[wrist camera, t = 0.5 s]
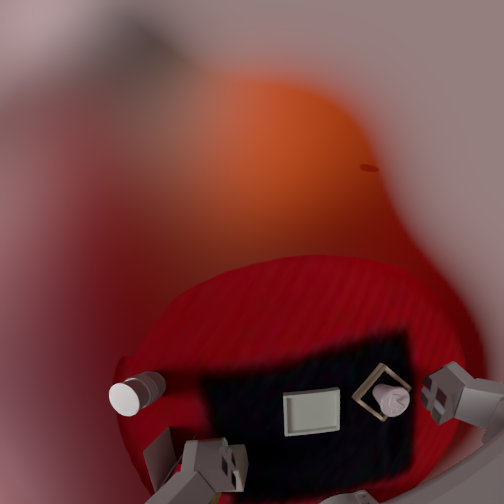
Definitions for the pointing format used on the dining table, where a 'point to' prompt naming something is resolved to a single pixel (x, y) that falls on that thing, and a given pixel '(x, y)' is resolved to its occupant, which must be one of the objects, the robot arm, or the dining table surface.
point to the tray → (311, 411)
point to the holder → (369, 383)
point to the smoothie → (391, 399)
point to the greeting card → (161, 459)
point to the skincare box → (239, 466)
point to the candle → (136, 392)
